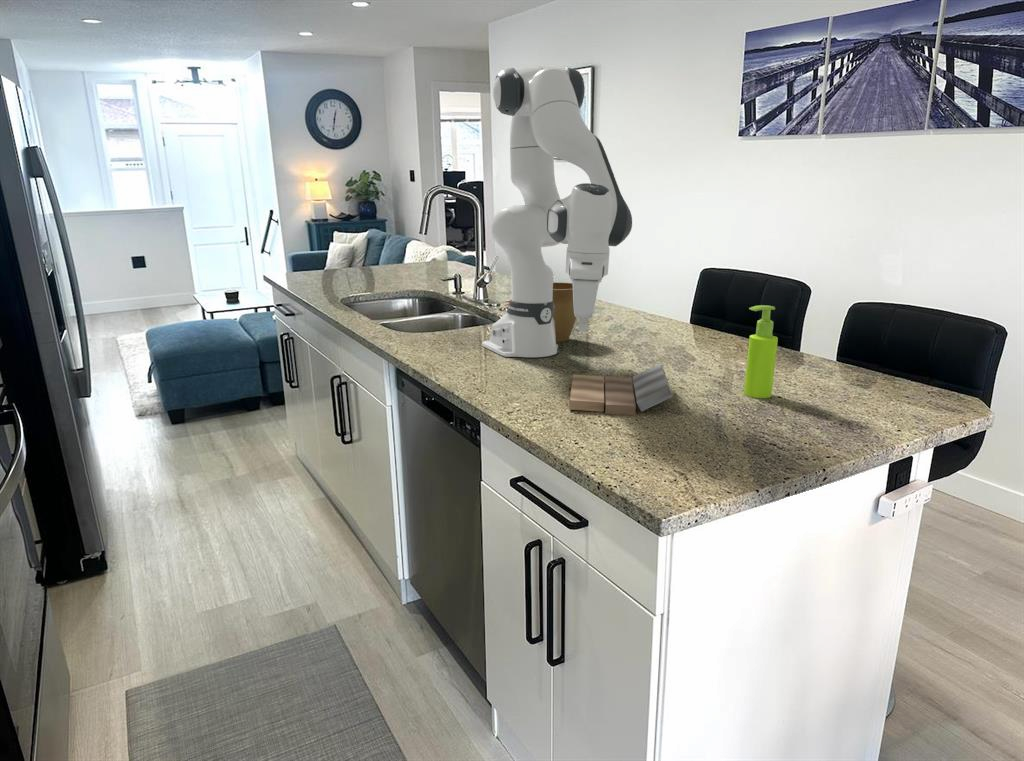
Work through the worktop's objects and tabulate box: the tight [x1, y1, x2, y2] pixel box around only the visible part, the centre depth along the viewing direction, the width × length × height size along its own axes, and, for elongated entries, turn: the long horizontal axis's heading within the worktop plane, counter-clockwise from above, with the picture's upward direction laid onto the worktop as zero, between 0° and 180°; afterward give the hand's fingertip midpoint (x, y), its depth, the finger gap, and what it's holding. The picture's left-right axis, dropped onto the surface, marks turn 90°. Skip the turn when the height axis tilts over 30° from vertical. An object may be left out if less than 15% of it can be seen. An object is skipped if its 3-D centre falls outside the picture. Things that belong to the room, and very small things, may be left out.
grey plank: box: [631, 363, 674, 413], centre depth 156 cm, size 20×7×2 cm, turn 173°
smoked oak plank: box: [568, 374, 605, 413], centre depth 158 cm, size 20×7×2 cm, turn 174°
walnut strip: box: [604, 375, 637, 416], centre depth 157 cm, size 22×6×2 cm, turn 174°
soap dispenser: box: [743, 304, 779, 399], centre depth 159 cm, size 6×7×20 cm
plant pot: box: [553, 281, 577, 343], centre depth 211 cm, size 15×15×16 cm
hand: (582, 330), depth 155 cm, fingers closed
